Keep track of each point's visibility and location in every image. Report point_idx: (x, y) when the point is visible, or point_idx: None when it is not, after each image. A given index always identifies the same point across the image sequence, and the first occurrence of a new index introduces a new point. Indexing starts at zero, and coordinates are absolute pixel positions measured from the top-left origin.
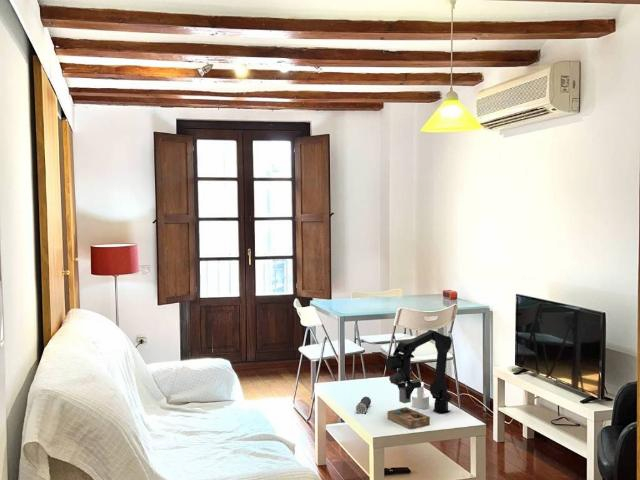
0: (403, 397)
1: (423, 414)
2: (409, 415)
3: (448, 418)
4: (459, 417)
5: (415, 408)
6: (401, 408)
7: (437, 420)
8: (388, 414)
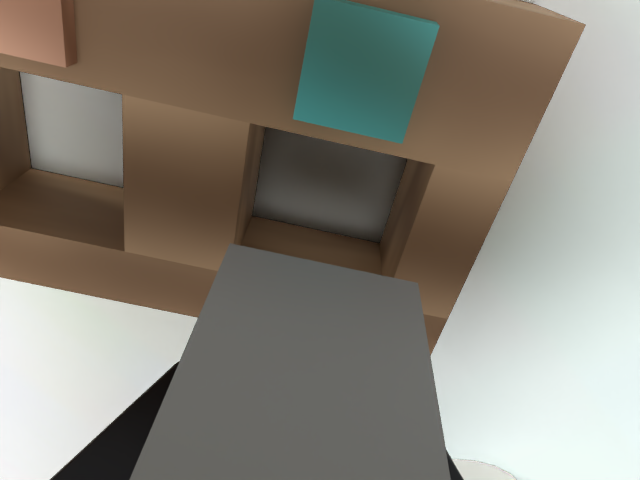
0: (229, 348)
1: (59, 283)
2: (124, 116)
3: (85, 427)
4: None
5: (457, 460)
6: (450, 292)
7: (90, 349)
8: (536, 9)
